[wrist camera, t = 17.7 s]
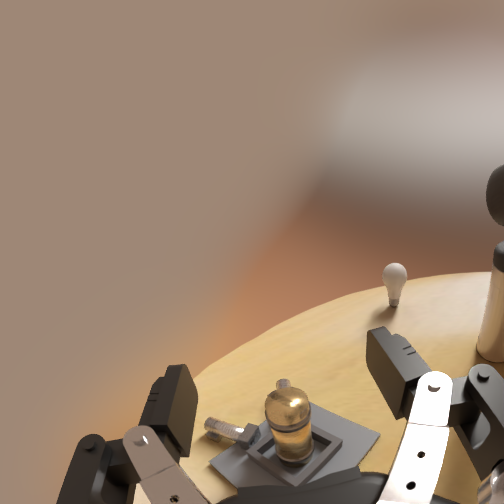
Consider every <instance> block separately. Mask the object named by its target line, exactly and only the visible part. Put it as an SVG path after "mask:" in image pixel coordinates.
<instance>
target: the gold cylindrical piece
mask: <svg viewBox="0 0 504 504" xmlns="http://www.w3.org/2000/svg"><path fill="white" fill-rule="evenodd" d="M265 408H266V410H265V415H266V419H267V423H268V425H269V426H270V427H271V430H272V434H273V438H274V441H275V451H276V454H277V457H278V458H279V460H280V461H281V463H282V464H283V465H285V466H287V467H291V468H298V467H302V466H304V465H306V464H307V463H308V462H309V461H310V460H311V459H312V457H313V452H314V441H313V439H312V434H311V423H310V419H311V405H310V403H309V401H308V397H307V395H306V393H305V392H304V391H302V390H300V389H298V388H293V387H287V388H281V389H278V390H276V391H273V392H271V393H270V394H269V395H268V397H267V399H266V401H265Z"/></svg>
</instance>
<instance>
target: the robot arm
mask: <svg viewBox="0 0 504 504" xmlns="http://www.w3.org/2000/svg"><path fill="white" fill-rule="evenodd" d="M486 202H487V207H488V210H489V212H490V215H491V216H492V218H493V219H494V220H495V221H496V222H497V223H498V224H499V225H502V226H504V164H503V165H501V166H500V167H498V168H496V169H495V170H494V171H493V173H492V174H491V176H490V178H489V181H488V185H487V191H486ZM477 350H478V353H479V354H480V355H481V356H482V357H483V358H485V359H486V360H488V361H491V362H504V241H502V242H500V243H499V244H498V245H497V246H496V247H495V250H494V258H493V266H492V274H491V281H490V287H489V293H488V298H487V303H486V308H485V313H484V317H483V322H482V326H481V330H480V334H479V337H478V341H477ZM366 363H367V367H368V369H369V371H370V373H371V375H372V377H373V378H374V380H375V382H376V384H377V386H378V387H379V389H380V391H381V393H382V395H383V396H384V398H385V400H386V402H387V404H388V406H389V407H390V409H391V411H392V413H393V415H394V417H395V419H396V420H398V419H400V418H403V417H405V418H406V420H407V423H406V426H405V429H404V432H403V435H402V438H401V441H400V444H399V447H398V450H397V453H396V455H395V458H394V461H393V463H392V465H391V468H390V470H389V473H388V475H387V474H384V473H379V472H360V469H359V466H356V467H353V468H349V469H346V470H342V471H338V472H334V473H330V474H328V475H326V476H323V477H321V478H319V479H317V480H314V481H312V482H310V483H307V484H305V485H302V486H277V485H261V486H250V487H238V494H237V495H233V496H230V497H228V498H226V499H223V500H221V501H220V502H218V503H216V504H460V503H457V502H454V501H451V500H448V499H446V498H443V497H440V496H437V495H435V494H433V492H434V489H435V485H436V482H437V479H438V475H439V472H440V468H441V464H442V460H443V456H444V452H445V447H446V442H447V437H448V432H449V427H453V428H454V429H455V431H456V433H457V435H458V437H459V438H460V440H461V442H462V444H463V446H464V448H465V450H466V451H467V453H468V455H469V457H470V459H471V461H472V463H473V465H474V467H475V469H476V471H477V473H478V475H479V477H480V479H481V482H482V483H481V484H480V486H479V488H478V493H477V494H478V502H479V504H504V379H503V378H502V377H501V375H500V374H499V373H498V372H497V371H496V370H495V369H494V368H493V367H492V366H490V365H488V364H477V365H475V366H473V367H472V368H471V369H470V371H469V373H468V376H465V377H459V378H454V379H450V378H449V377H448V376H447V375H445V374H443V373H440V372H433V371H432V370H431V369H430V368H429V366H428V365H427V364H426V363H425V361H424V360H423V359H422V358H421V356H420V355H419V354H418V353H416V350H415V349H414V348H413V347H411V344H410V343H409V342H408V341H407V340H406V339H405V338H404V337H402V336H400V335H398V334H394V335H391V334H390V332H389V331H388V330H387V329H386V327H384V326H382V327H379V328H376V329H372V330H369V331H368V332H367V346H366ZM197 403H198V393H197V389H196V386H195V384H194V382H193V379H192V377H191V375H190V372H189V370H188V368H187V366H186V365H185V364H181V365H169V366H168V367H167V370H166V373H165V376H164V377H159V378H158V379H157V380H156V382H155V383H154V384H153V385H152V388H151V390H150V395H149V396H148V399H147V402H146V404H145V407H144V410H143V413H142V416H141V419H140V422H139V425H138V426H136V427H133V428H131V429H130V430H128V431H127V432H126V434H125V435H124V438H123V439H118V440H112V441H105V440H104V439H103V438H102V437H101V436H100V435H97V434H90V435H87V436H85V437H83V438H82V439H81V440H80V442H79V443H78V445H77V447H76V450H75V452H74V455H73V458H72V460H71V463H70V466H69V468H68V471H67V474H66V476H65V479H64V482H63V485H62V488H61V491H60V494H59V497H58V500H57V503H56V504H133V500H134V494H135V489H136V483H140V485H141V487H142V489H143V490H144V492H145V494H146V495H147V497H148V499H149V500H150V502H151V504H212V503H211V502H210V501H209V500H208V499H207V498H206V497H205V496H204V495H203V494H202V492H201V491H200V490H199V489H198V488H197V486H196V485H195V484H194V483H193V482H192V480H191V479H190V478H189V476H188V475H187V474H186V473H185V471H184V470H183V469H182V467H181V466H180V465H179V460H180V457H189V454H190V448H191V441H192V435H193V428H194V422H195V416H196V410H197Z"/></svg>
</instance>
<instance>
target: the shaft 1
mask: <svg viewBox="0 0 504 504" xmlns="http://www.w3.org/2000/svg"><path fill="white" fill-rule="evenodd" d="M204 428H205V430H207V431H208V433H207V434H206V436H207V438H208V439H211V440H213V441H216V442H219V440H220V439H221V438H222V437H225V438H228V439H231V440H234V441H236V442H239V444H240V446H241V448H242V449H245V450H248V449H249V448H251V447H252V446H253V445H255V444H256V443H257V442H258V440H259V439H260V437H261V433H260V430H259V426H257V425H253V424H250V423H248V424H247V426H246V427H245V428H242V427H239V426H236V425H233V424H230V423H227V422H224V421H221V420H219V419H216V418H213V417H209V418H208V419H207V420H206V421H205V424H204Z"/></svg>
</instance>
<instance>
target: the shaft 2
mask: <svg viewBox="0 0 504 504" xmlns="http://www.w3.org/2000/svg"><path fill="white" fill-rule="evenodd" d="M287 387H291V384H290V381H289V380H288V379H280V380H278V381H277V383H276V388H277V390H278V389H281V388H287ZM275 391H276V390H275Z"/></svg>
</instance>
